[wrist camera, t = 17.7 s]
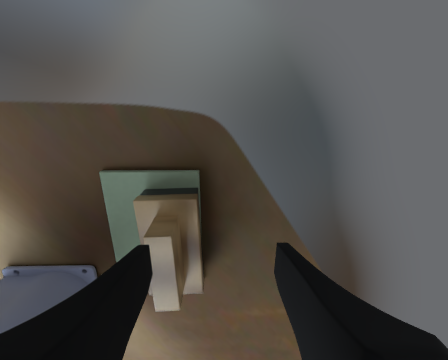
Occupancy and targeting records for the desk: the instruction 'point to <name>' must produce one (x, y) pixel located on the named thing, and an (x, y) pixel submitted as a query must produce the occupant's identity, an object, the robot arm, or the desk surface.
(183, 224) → the brush
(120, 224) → the pad
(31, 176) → the desk surface
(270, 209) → the desk surface
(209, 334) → the desk surface
